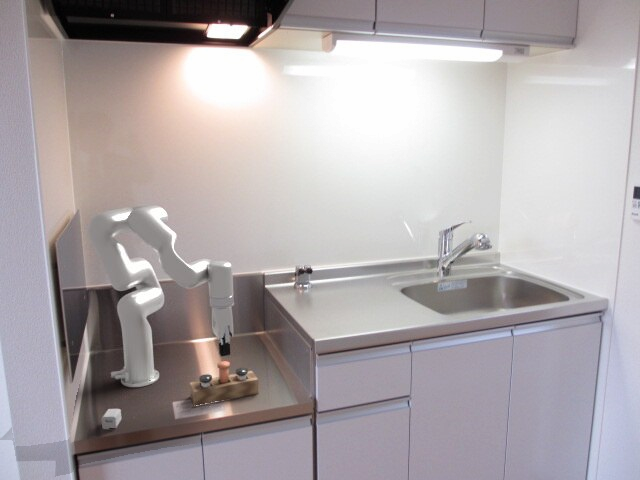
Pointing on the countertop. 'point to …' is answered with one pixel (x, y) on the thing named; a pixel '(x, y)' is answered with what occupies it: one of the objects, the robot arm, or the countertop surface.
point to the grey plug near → (205, 380)
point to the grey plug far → (241, 373)
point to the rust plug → (223, 372)
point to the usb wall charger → (111, 418)
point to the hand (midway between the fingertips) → (224, 354)
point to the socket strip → (224, 389)
